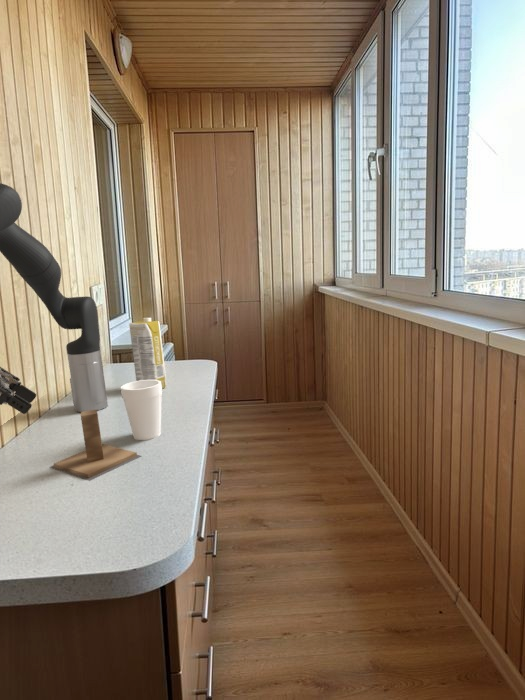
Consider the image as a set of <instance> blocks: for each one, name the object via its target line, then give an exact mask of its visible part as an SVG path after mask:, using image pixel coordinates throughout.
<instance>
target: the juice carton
mask: <svg viewBox="0 0 525 700" xmlns="http://www.w3.org/2000/svg"><path fill="white" fill-rule="evenodd" d="M128 326H129V332H130V333H129V334H130V340H131V349H132V355H133V365H134V373H135V379H136V380H135V381H140V380H159V381H161V385H162V390H163V389H165V388H167V386H168V385H167V376H166V374H167V373H166V365H165V356H164V349H163V341H162V340H163V339H162V332H161V325H160V321H159V320H152V317H143V320H139V321H134V322H129V325H128Z"/></svg>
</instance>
